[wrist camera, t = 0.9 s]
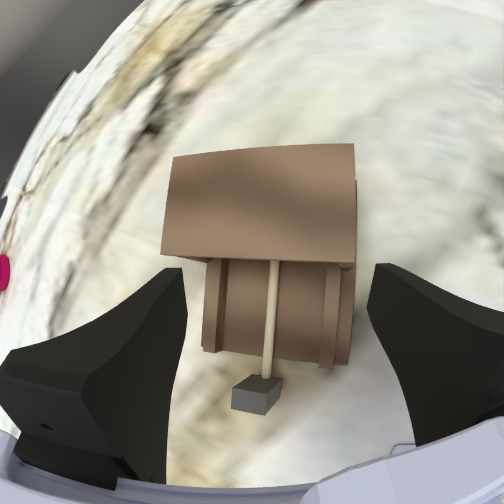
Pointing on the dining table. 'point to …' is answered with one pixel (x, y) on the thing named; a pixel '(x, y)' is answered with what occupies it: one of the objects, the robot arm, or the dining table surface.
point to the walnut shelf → (270, 245)
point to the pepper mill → (4, 272)
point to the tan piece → (262, 386)
